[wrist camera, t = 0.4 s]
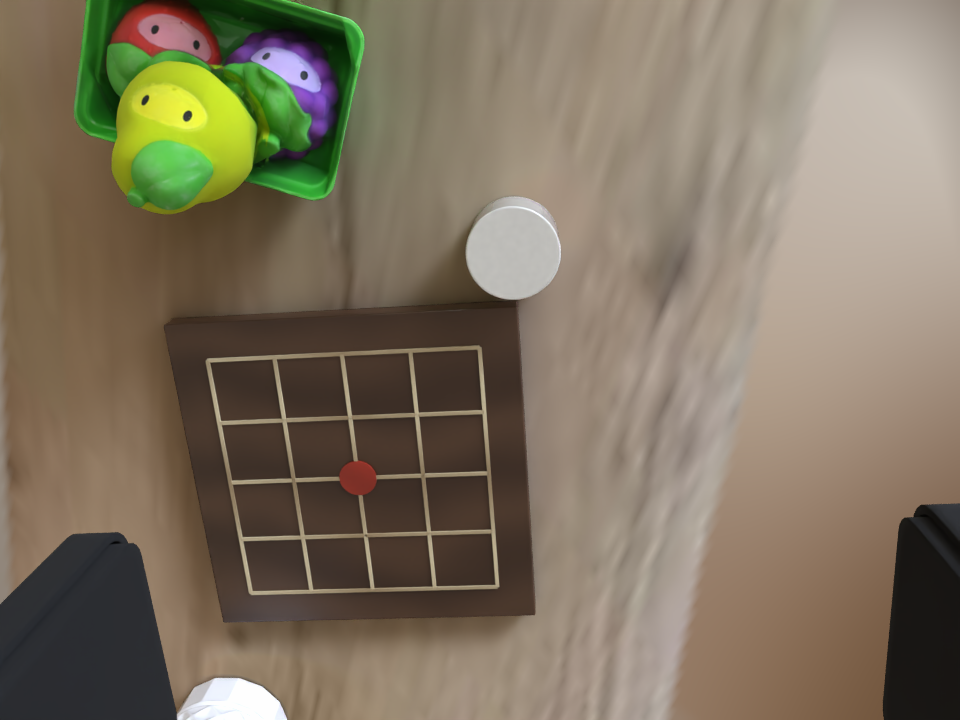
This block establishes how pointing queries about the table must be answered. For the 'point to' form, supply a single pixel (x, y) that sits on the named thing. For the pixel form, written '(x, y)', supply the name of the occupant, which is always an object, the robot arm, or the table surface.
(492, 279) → the white round puck
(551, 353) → the table surface
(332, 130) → the fruit basket
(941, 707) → the robot arm
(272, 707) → the white cup
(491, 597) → the board
